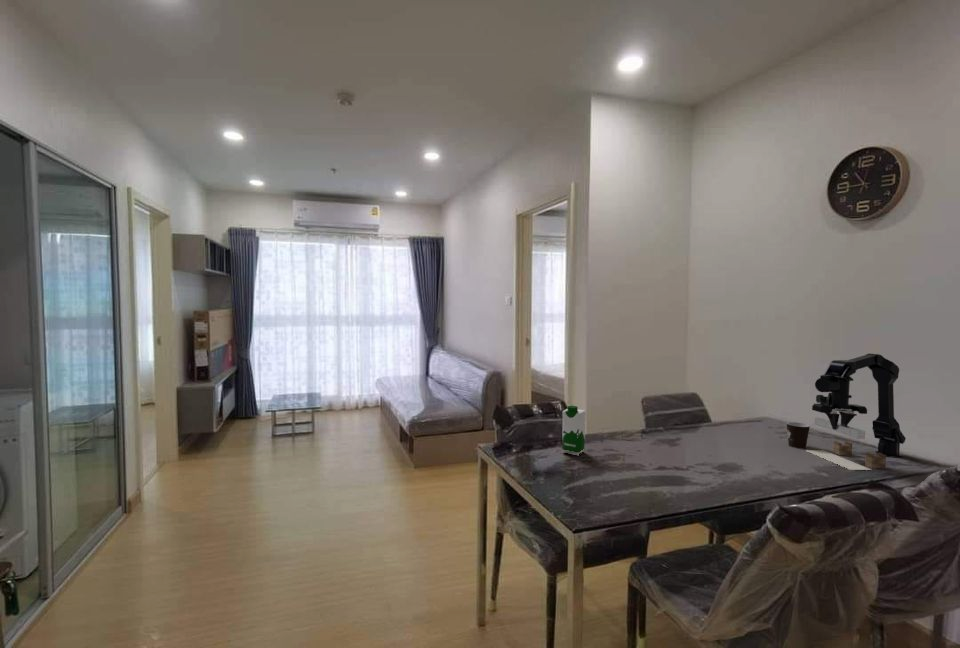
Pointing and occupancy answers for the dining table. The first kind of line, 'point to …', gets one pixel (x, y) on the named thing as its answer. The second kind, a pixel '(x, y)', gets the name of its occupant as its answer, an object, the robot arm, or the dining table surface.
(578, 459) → the dining table surface
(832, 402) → the robot arm
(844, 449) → the post
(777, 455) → the dining table surface
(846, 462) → the mat
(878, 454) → the post
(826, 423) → the rail
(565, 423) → the milk carton
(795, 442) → the coffee mug
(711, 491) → the dining table surface
